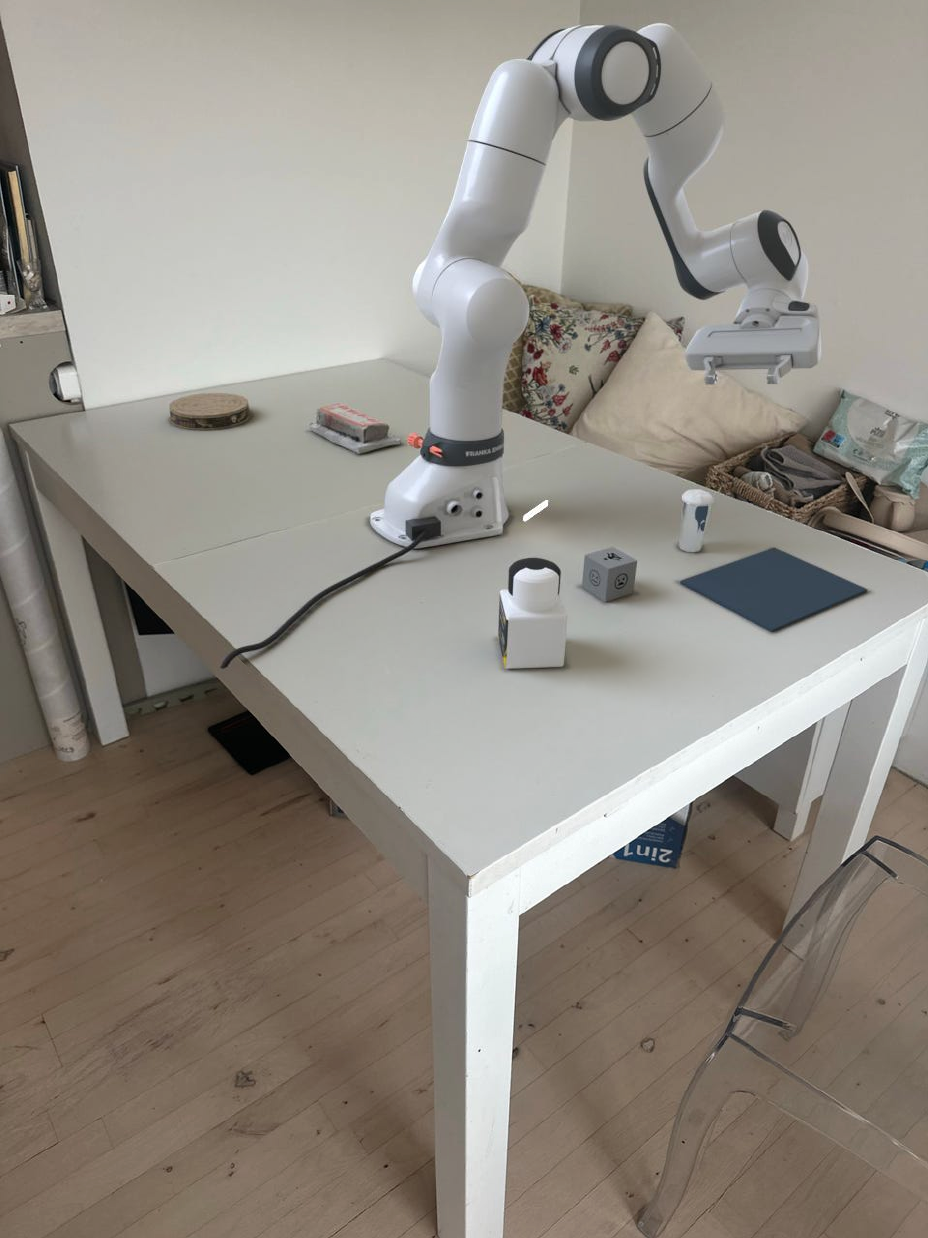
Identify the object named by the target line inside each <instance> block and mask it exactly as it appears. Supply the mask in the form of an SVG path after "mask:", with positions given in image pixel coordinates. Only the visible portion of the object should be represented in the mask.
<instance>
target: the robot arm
mask: <svg viewBox="0 0 928 1238" xmlns="http://www.w3.org/2000/svg"><path fill="white" fill-rule="evenodd" d="M480 99H481V100H480V102H479V105H478V107H477V110H476V113H475V117H474V119H473V122H472V125H471V128H470V132H469V136H468V138H467V139H468V141H467V144H466V149H465V150H464V151H465V152H464V155H463V159H462V163H461V167H460V171H459V175H458V177H457V182H456V186H455V190H454V193H453V197H452V199H451V200H452V201H451V202H450V205H449V208H448V211H447V213H446V216H445V218H444V220H443V222H442V224H441V227H440V229H439V231H438V233H437V235H436V238H435V240H434V241H433V244H432V246H431V248H430V251H429V253H428V255H427V257H426V258H425V259H424V260H423V261H422V262H421V263H420V264H419V265H418V267H417V269H416V271H415V273H414V274H413V275H414V276H413V278H412V287H411V288H412V289H411V290H412V296H413V299H414V302H415V303H416V306H417V307H418V309H419V311H420V312H421V314H422V315H423V317H424V318H425V319H426V320H427V321H428V322H429V323H430V324H432V325H433V326H435V327H437V328H439V330H440V332H441V346H440V350H439V351H440V352H439V357H438V359H437V360H438V361H437V364H436V368H435V370H434V372H432V374H431V376H430V379H429V427H428V428H427V430H426V434H425V435H424V437H423V436H421V435H419V434H417V433H416V432H411V433H409V435H408V436H407V439H406V441H407V442H406V443H407V444H408V445H409V446H411V447H413V448H414V449H420V450H419V455H418V456H417V457H416V458H415V459H414V460H413V461H411V463H410V464H408V465H407V467H405V469H404V470H402V471H401V472H400V473H399V474H398V475H397V476H395V478H394V479H393V480H392V481H390V482H389V484H388V485H387V488H386V491H385V495H384V502H383V508H381V509H378V510H376V511H373V512H371V514H370V517H369V518H370V520H369V522H370V526H371V527H372V528H373V530H374V531H375V532H376V533H377V534H379V535H380V536H382V537H383V538H385V539H386V540H388V541H389V542H391V543H394V544H396V545H398V546H401V547H404V548H403V549H401V550H399V551H397V552H395V553H393V554H391V555H389V556H387V557H385V558H383V559H381V560H379V561H378V562H376V563H373V564H371V565H369V566H368V567H366V568H363V569H361V570H359V571H358V572H356V573H354V574H352V575H350V576H348V577H346V578H344V579H341V580H339V581H337V582H336V583H334V584H332V585H330V586H328V587H327V588H325V589H323V590H322V591H320V592H319V593H317V594H315V596H313V597H311V599H310V600H308V601H307V602H306V603H305V604H304V605H303V606H302V607H300V608H299V609H298V610H297V611H296V612H295V613H294V614H293V615H291V617H289V618H288V619H287V621H285V622H284V623H283V624H282V625H281V626H280V627H279V628H278V629H277V630H275V632H274V633H273V634H271V635H270V636H269V637H267V638H265V639H264V640H262V641H260V642H257V643H253V644H249V645H244V646H241V647H238V648H236V649H234V650H232V651H231V652H230V653H228V655H226V657H225V658H224V659H223V660H222V663H221V664H220V669H222V670H223V669H227V668H228V666H229V665H230V664H231V662H232V661H233V660H234V659H235V658H236V657H237V656H240V655H242V654H245V653H249V652H254V651H258V650H262V649H263V648H265V647H268V646H269V645H271V644H272V643H274V642H275V641H276V640H278V639H279V638H280V637H281V636H282V635H283V634H284V633H285V632H286V631H287V630H288V629H289V628H290V627H291V626H292V625H293V624H294V623H295V622H296V621H297V620H299V619H300V618H301V617H302V616H303V615H304V614H305V613H306V612H308V611H309V609H310V608H312V606H314V605H315V604H316V603H317V602H319V601H320V600H322V599H323V598H324V597H326V596H327V595H330V594H331V593H333V592H334V591H336V590H338V589H340V588H342V587H344V586H346V585H348V584H350V583H352V582H354V581H356V580H357V579H359V578H361V577H363V576H365V575H367V574H369V573H371V572H373V571H375V570H377V569H379V568H381V567H383V566H385V565H387V564H388V563H390V562H392V561H394V560H396V559H398V558H400V557H403V556H405V555H406V554H408V553H409V552H411V551H412V550H413V549H415V550H416V549H423V548H429V547H435V546H440V545H446V544H452V543H458V542H466V541H470V540H476V539H481V538H489V537H494V536H498V535H499V536H500V535H502V534H503V533H504V524H505V523H506V522H507V521H508V520H509V517H510V513H509V509H508V506H507V501H506V497H505V491H504V485H503V472H502V471H503V469H502V459H503V455H504V452H505V430H504V429H503V428H502V427H503V425H502V423H503V401H504V385H505V379H506V378H505V377H506V373H507V369H508V364H509V360H510V357H511V354H512V352H513V351H512V350H513V347H514V344H515V342H516V341H518V340H519V339H520V337H522V335H523V333H524V332H525V330H526V328H527V325H528V322H529V318H530V303H529V299H528V296H527V294H526V292H525V290H524V288H522V287H521V285H520V284H519V283H518V281H517V280H516V279H515V278H514V277H513V276H512V275H511V274H510V273H509V272H508V271H506V270H504V269H503V268H502V265H503V263H504V261H505V259H506V258H507V256H508V253H509V252H510V250H511V248H512V246H513V245H514V243H515V242H516V241H517V239H518V238H519V237H520V235H522V234H523V233H524V232H525V231H526V230H527V228H528V226H529V225H530V223H531V219H532V216H533V212H534V209H535V207H536V206H535V205H536V202H537V199H538V195H539V192H540V189H541V185H542V181H543V178H544V174H545V170H546V167H547V163H548V160H549V156H550V152H551V147H552V143H553V140H554V138H555V136H556V134H557V133H558V131H559V129H560V127H561V126H562V125H563V123H564V122H565V121H566V120H567V119H572V120H574V121H578V122H598V121H599V122H600V121H603V122H612V121H617V120H619V119H620V120H621V119H622V118H625V117H627V116H629V115H630V116H632V119H633V121H634V123H635V124H636V127H637V128H638V130H639V132H640V133H641V135H642V136H643V137H642V138H643V139H644V141H645V144H646V146H647V147H646V148H647V152H648V153H647V154H648V156H647V158H646V159H645V161H644V163H643V172H642V173H643V180H644V185H645V189H646V192H647V195H648V198H649V201H650V204H651V206H652V209H653V211H654V214H655V216H656V219H657V222H658V224H659V227H660V230H661V232H662V235H663V238H664V239H665V242H666V244H667V247H668V250H669V253H670V255H671V258H672V261H673V267H674V270H675V275H676V278H677V281H678V284H679V286H680V288H681V289H682V290H683V291H684V292H685V293H686V294H688V295H689V296H691V297H694V298H695V299H697V300H699V301H707V300H709V299H712V298H713V297H716V296H718V295H721V294H722V293H724V292H726V291H728V290H732V289H735V288H738V287H740V286H741V287H742V286H743V285H746V286H747V291H746V295H745V297H744V298H743V300H742V301H741V303H740V306H739V308H738V311H737V313H736V315H735V316H734V320H733V323H721V324H708V325H705V326H702V327H701V328H699V329H697V330H696V331H695V334H694V335H693V337H692V338H691V340H690V341H689V343H688V345H687V346H686V349H685V360H686V364H687V367H689V369H690V370H691V371H704V372H705V374H704V379H703V380H704V384H705V386H709V385H712V386H713V385H717V381H718V379H719V377H718V376H719V375H718V371H723V370H724V371H727V370H734V371H735V370H768V371H767V373H766V380H767V381H766V383H767V385H778V384H779V382H780V379H781V378H783V377H784V376H786V375H787V374H788V373H790V372H791V371H792V369H793V370H795V369H797V370H798V369H812V368H814V367H816V366H817V365H818V364H819V363H820V360H821V356H822V335H821V331H822V330H821V329H822V327H821V325H822V323H821V316H820V311H819V307H818V306H819V305H818V304H816V303H814V302H807V301H803V299H804V297H805V294H806V290H807V286H808V281H809V261H808V259H807V257H806V254H805V253H804V252H803V250H802V248H801V244H800V242H799V238H798V235H797V233H796V231H795V229H794V227H793V225H792V224H791V223H790V222H789V221H788V220H787V219H786V218H784V216H781V215H780V214H779V213H777V212H776V211H773V210H770V209H764V210H761V211H758V212H755V213H753V214H750V215H747V216H745V217H742V218H739V219H737V220H735V221H733V222H731V223H727V224H725V225H723V226H721V227H718V228H715V229H713V230H708V231H703V230H700V229H698V228H697V226H696V223H695V220H694V218H693V215H692V212H691V210H690V207H689V204H688V201H687V198H686V195H685V193H684V187H685V185H686V184H687V183H688V182H689V181H690V180H691V179H692V178H693V177H694V176H695V175H696V174H697V173H698V172H699V171H700V170H702V168H703V167H704V166H705V165H706V164H707V163H708V162H709V160H710V159H711V158H712V156H713V154H714V153H715V152H716V149H717V148H718V147H719V144H720V142H721V139H722V138H723V134H724V131H725V130H724V129H725V124H726V114H725V110H724V106H723V102H722V101H721V98H720V95H719V93H718V91H717V89H716V87H715V85H714V83H713V81H712V80H711V78H710V76H709V74H708V73H707V71H706V69H705V68H704V66H703V64H702V63H701V61H700V59H699V57H698V56H697V55H696V53H695V52H694V51H693V49H692V48H691V46H690V45H689V43H687V41H686V39H685V38H683V36H682V35H681V34H680V33H679V32H678V31H677V29H676V28H674V27H673V26H672V25H670V24H667V23H663V22H659V23H652V24H650V25H649V24H648V25H647V26H644V27H642V28H640V29H639V30H637V31H636V30H634V29H632V28H630V27H627V26H624V25H620V24H607V25H600V24H599V25H598V24H593V23H586V24H579V25H575V26H572V27H569V28H561V29H557V30H555V31H553V32H551V33H549V34H548V35H547V36H545V37H543V38H542V40H541V41H540V42H538V44H536V46H535V47H534V48H533V50H532V51H531V53H530V55H529V56H527V58H526V59H524V58H517V59H511V60H506V61H504V62H502V63H501V64H499V65H498V66H497V67H496V69H495V70H494V71H493V73H492V74H491V76H490V79H489V80H488V83H487V85H486V87H485V90H484V92H483V94H482V97H481V98H480ZM548 502H549V500H545V501H542V503H540V504H539V505H537V506H535V508H533V509H531V510H530V511H529V512H527V513H526V514H524V515H523V521H524V522H526V521H528V520H529V519H530V518H532V517H533V516H534V515H536V514H537V513H540V512H541V511H543V509H545V508H546V507H548V505H549V504H548Z"/></svg>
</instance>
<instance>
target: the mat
mask: <svg viewBox="0 0 928 1238" xmlns="http://www.w3.org/2000/svg"><path fill="white" fill-rule="evenodd" d="M679 584H680V585H683V586H684V587H686V588H688V589H690V590H693V591H694V592H696V593H698V594H699V595H701V596H703V597H705V598H707V599H709V600H711V601H713V602H715V603H716V604H718V605H720V606H722V607H724V608H726V609H728V610H730V611H731V612H733V613H735V614H737V615H739V616H741V617H743V618H745V619H746V620H748V621H750V622H752V623H754V624H755V625H757V626H760V627H762V628H764V629H765V630H767V631H769V632H771V633H773V632H776V631H778V630H780V629H783V628H784V627H787V626H790V625H792V624H794V623H796V622H799V621H801V620H803V619H807V618H809V617H810V616H813V615H816V614H818V613H820V612H822V611H825V610H827V609H829V608H832V607H834V606H837V605H839V604H841V603H844V602H846V601H848V600H850V599H853V598H855V597H857V596H860V595H863V594H864V593H866V592H868V589H867V588H865V587H864V586H861V585H859V584H857V583H855V582H852V581H850V580H848V579H845V578H843V577H841V576H838V575H836V574H835V573H832V572H830V571H827V570H826V569H823V568H821V567H819V566H817V565H814V564H812V563H810V562H807V561H805V560H803V559H801V558H798V557H797V556H794V555H793V554H789V553H788V552H785V551H783V550H781V549H778V548H776V547H771V548H768V549H766V550H763V551H760V552H758V553H755V554H751V555H749V556H746V557H744V558H740V559H738V560H735V561H732V562H729V563H726V564H724V565H721V566H718V567H715V568H713V569H710V570H707V571H704V572H701V573H699V574H696V575H693V576H690V577H687V578H685V579H682V580H680V582H679Z"/></svg>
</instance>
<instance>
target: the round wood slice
mask: <svg viewBox="0 0 928 1238" xmlns="http://www.w3.org/2000/svg"><path fill="white" fill-rule="evenodd" d="M168 408H169V415H170V421H171V423H172V424H173V425H174V426H175V427H178V428H180V429H183V430H184V429H185V430H192V431H213V430H214V431H216V430H223V429H229V428H233V427H236V426H239V425H242V424H244V423H246V422H247V421H248V420H249V419H250V416H251V415H250V406H249V400H248V399H247V398H246V397H244V396H242V395H239V394H234V393H227V392H205V393H197V394H190V395H186V396H182V397H180V398H177V399H174V400H173V401H172V402H170V404H169V406H168Z"/></svg>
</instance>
